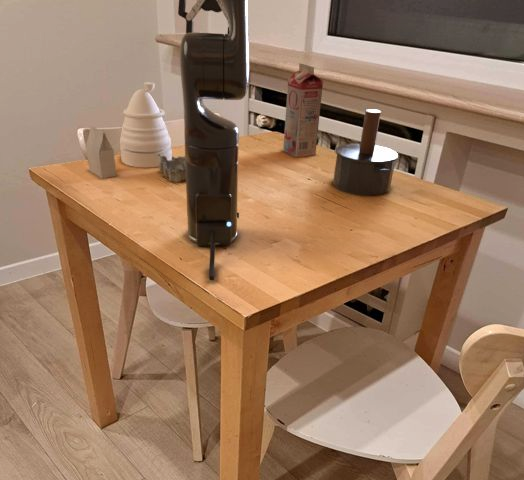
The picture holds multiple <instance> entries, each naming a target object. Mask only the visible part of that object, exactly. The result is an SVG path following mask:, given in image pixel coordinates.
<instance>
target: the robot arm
mask: <svg viewBox="0 0 524 480" xmlns="http://www.w3.org/2000/svg"><path fill="white" fill-rule="evenodd" d="M186 6H187V0H178V7H177V8H178V10H177V14H178V16H179V17H181V18H183V19H185V34H184V35H183V36H182V38H181V42H180V46H179V70H180V71H179V72H180V82H181V91H182V106H183V122H184V123H183V127H184V133H183V134H184V156H185V167H186V180H185V190H186V192H185V193H186V216H187V238H188V239H189V240H190V241H192V242H193V243H195V244H196V246H198V247H209V246H210V247H209V248H210V249H209V270H208V275H209V277H208V279H209V281H211V282H212V281H214V279H215V257H216V246H218V247H219V246H232V242H235V241H236V239H238V219H240V213H239V212H238V187H239V185H238V183H239V182H238V180H239V143H240V142H239V141H240V131H239V127H238V125H237V124H236V123H235V122H233V121H232V120H229V119H227V118H225V117H223V116H220V115H218V114H216V113H215V112H213V111H212V110H211V109H209V108H208V107H207V106H206V105H205V103H204V102H203V100H218V101H219V100H224V101H240V100H243V99H244V98H245V97H246V96H247V93H248V89H249V84H250V61H251V60H250V36H249V35H250V28H249V0H196V1H195V3H194V5H193V6H192V7H191V9H190V10H189V11H188V12H187V11H186ZM201 10H203V11H204V12H213V13H217V14H219V13H221V12H222V13H223V16H224V18H225V19H226V21H227V25H228V26H227V33H216V32H215V33H214V32H212V33H211V32H195V31H194V19H195V17H196V16H197V15H198V13H199V12H200V11H201Z"/></svg>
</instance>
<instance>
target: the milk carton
mask: <svg viewBox="0 0 524 480" xmlns="http://www.w3.org/2000/svg"><path fill="white" fill-rule="evenodd" d="M298 63H299V64H298V65H299V66H298V70H297V71H296V72H294V73H292V74H291V75H290V76H289V77H288V78H287V91H286V104H285V105H286V106H285V121H284V134H283V149H282V151H283V152H285V153H287V154H289V155H290V156H293V157H295V158H299V157H306V156H308V157H309V156H316V154H317V152H316V151H317V143H318V133H319V125H320V115H321V113H320V112H321V105H322V95H323V86H324V81H323V80H322V79H321V78H320V77H318V76H317V75H315V66H311V65H308V64H304V63H301V62H298Z"/></svg>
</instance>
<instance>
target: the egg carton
mask: <svg viewBox="0 0 524 480" xmlns="http://www.w3.org/2000/svg"><path fill="white" fill-rule="evenodd" d="M158 156H159V157H160V158H161V161H160V163H159V167H158V168H159V171H160V173H161V174H162V173H163V176H165V177H166V178H168V181H169V182H174V183H178V182H182V181H184V180H185V181H186V167H185V155H184V156H177V157H174V156H172V160H169V161H168V160H167V158H166V156H160V154H158Z"/></svg>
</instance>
